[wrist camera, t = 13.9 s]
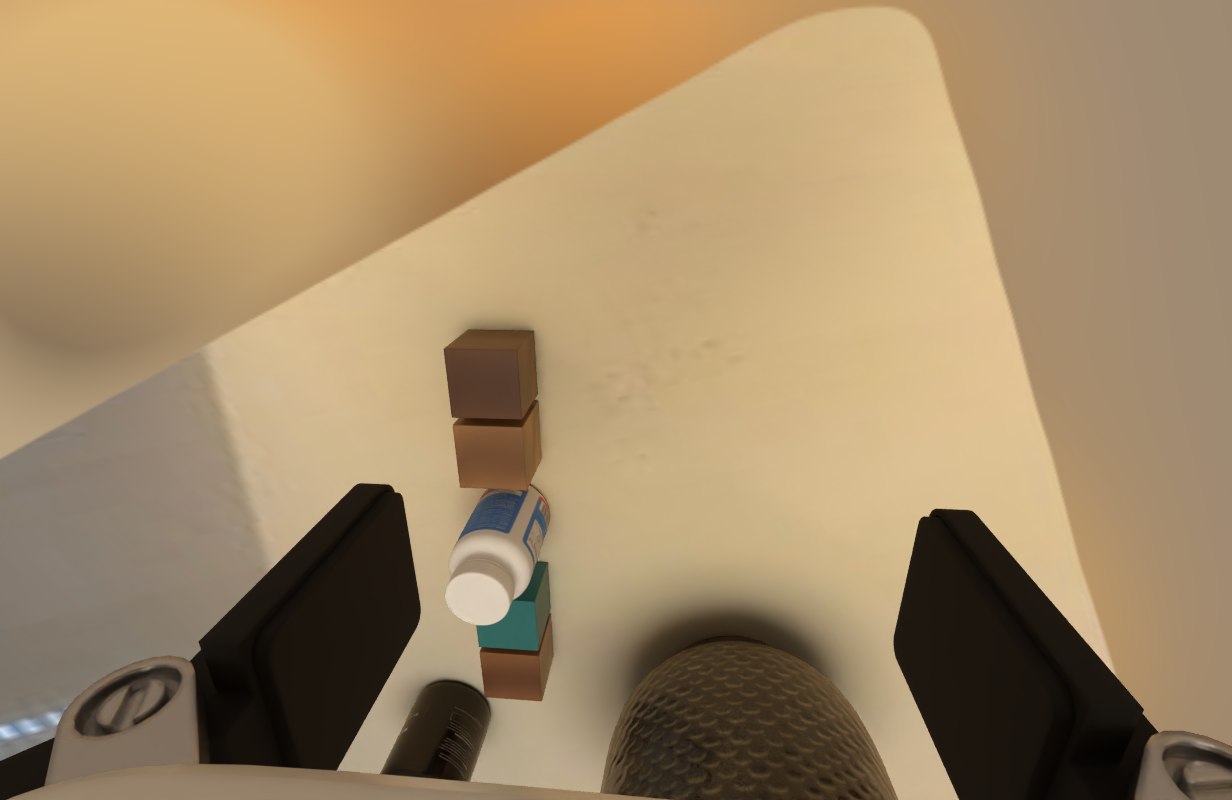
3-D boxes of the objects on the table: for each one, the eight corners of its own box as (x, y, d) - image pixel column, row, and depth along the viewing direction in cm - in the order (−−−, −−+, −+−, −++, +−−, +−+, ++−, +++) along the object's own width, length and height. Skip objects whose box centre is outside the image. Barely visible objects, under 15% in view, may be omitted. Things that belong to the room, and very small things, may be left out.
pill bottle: (467, 513, 45) (414, 601, 36) (505, 465, 43) (460, 545, 34) (526, 553, 45) (489, 648, 36) (565, 507, 44) (537, 596, 34)
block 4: (496, 610, 48) (479, 652, 44) (550, 613, 47) (538, 656, 43) (500, 652, 49) (484, 697, 45) (553, 656, 49) (542, 701, 45)
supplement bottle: (409, 679, 52) (335, 819, 40) (483, 677, 51) (429, 820, 40) (427, 735, 54) (363, 882, 43) (499, 734, 53) (452, 885, 42)
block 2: (475, 398, 41) (452, 425, 37) (538, 400, 41) (522, 427, 36) (480, 456, 43) (459, 487, 38) (541, 458, 42) (527, 490, 38)
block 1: (467, 329, 39) (443, 348, 35) (534, 330, 39) (517, 350, 35) (474, 392, 41) (451, 417, 37) (537, 394, 40) (522, 420, 36)
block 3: (491, 559, 46) (472, 598, 42) (547, 562, 46) (535, 601, 41) (495, 605, 48) (478, 647, 43) (550, 608, 47) (538, 651, 43)
